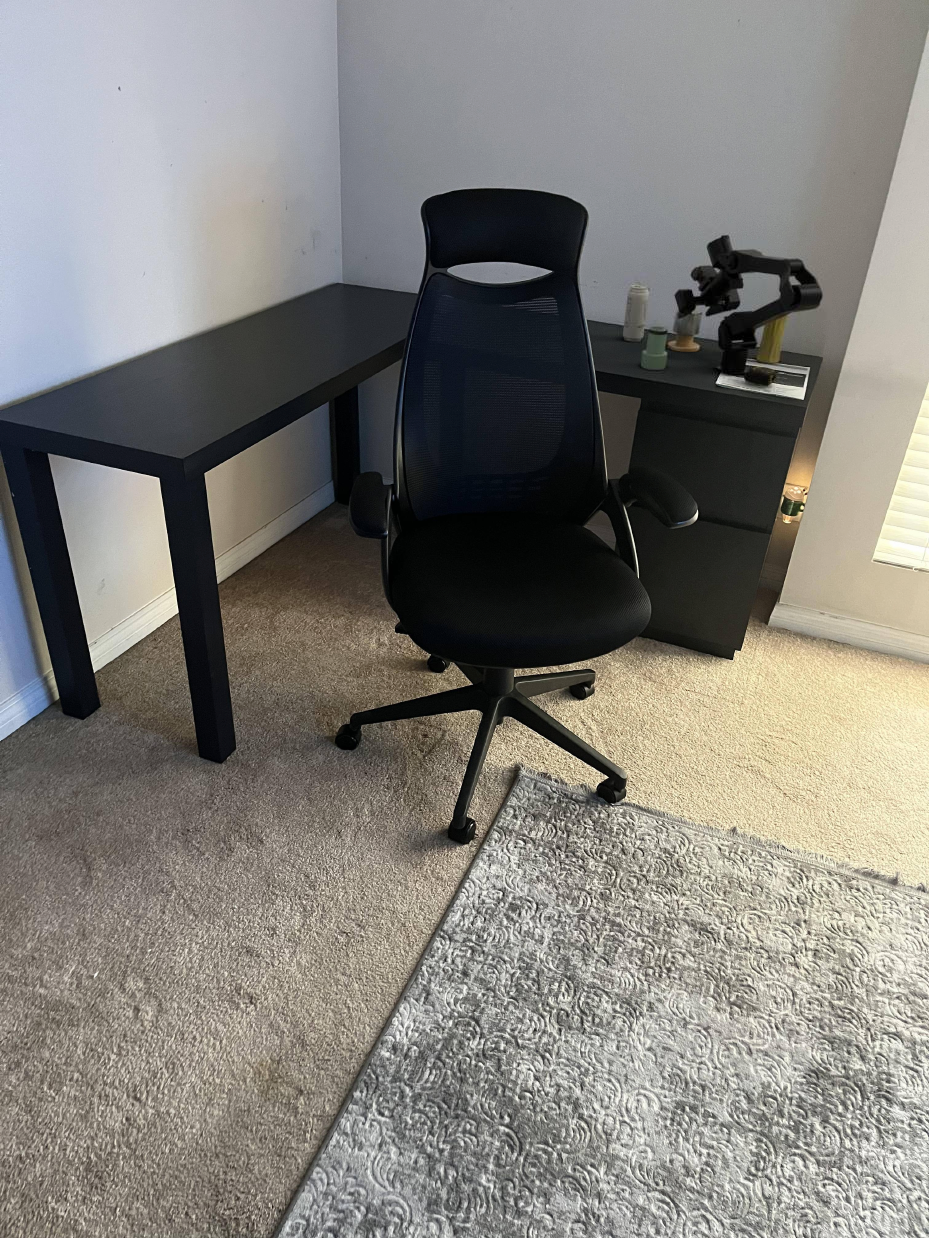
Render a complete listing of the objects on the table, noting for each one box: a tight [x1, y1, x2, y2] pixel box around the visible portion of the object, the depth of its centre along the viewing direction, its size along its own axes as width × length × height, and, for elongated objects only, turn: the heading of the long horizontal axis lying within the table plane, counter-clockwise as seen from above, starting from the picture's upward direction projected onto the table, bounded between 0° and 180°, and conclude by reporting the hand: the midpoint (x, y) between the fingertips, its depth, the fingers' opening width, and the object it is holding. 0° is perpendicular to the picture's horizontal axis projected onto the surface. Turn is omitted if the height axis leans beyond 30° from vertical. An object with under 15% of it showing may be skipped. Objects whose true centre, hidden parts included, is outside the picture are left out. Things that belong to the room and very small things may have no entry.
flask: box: [640, 326, 668, 371], centre depth 236 cm, size 7×7×10 cm
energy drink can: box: [622, 284, 650, 342], centre depth 257 cm, size 6×6×15 cm
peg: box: [667, 333, 701, 353], centre depth 252 cm, size 9×9×10 cm
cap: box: [672, 307, 703, 336], centre depth 251 cm, size 7×7×6 cm
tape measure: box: [743, 366, 777, 387], centre depth 226 cm, size 7×7×4 cm
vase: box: [756, 315, 788, 364], centre depth 242 cm, size 6×6×14 cm
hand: (692, 316), depth 248 cm, fingers open, 9 cm apart
